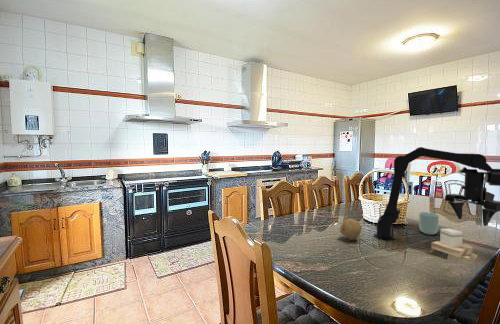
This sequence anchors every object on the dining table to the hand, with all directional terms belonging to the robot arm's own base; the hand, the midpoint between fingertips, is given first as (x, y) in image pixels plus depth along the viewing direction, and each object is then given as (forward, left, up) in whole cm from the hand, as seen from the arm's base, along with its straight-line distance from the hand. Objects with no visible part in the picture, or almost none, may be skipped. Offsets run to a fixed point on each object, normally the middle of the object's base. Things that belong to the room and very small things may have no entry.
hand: (472, 222), depth 99 cm
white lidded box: (-6, +3, -10) cm, 12 cm away
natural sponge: (-40, +23, -13) cm, 48 cm away
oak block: (-6, +3, -13) cm, 15 cm away
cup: (+4, +22, -13) cm, 26 cm away
